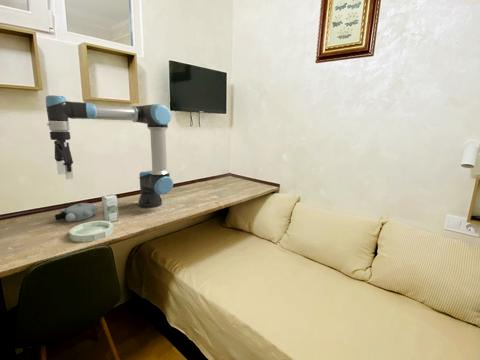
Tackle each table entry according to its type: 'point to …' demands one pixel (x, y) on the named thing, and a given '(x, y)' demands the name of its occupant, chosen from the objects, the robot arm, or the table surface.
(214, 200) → the table surface
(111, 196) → the syrup box
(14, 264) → the table surface
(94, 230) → the round bowl
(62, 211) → the figurine
